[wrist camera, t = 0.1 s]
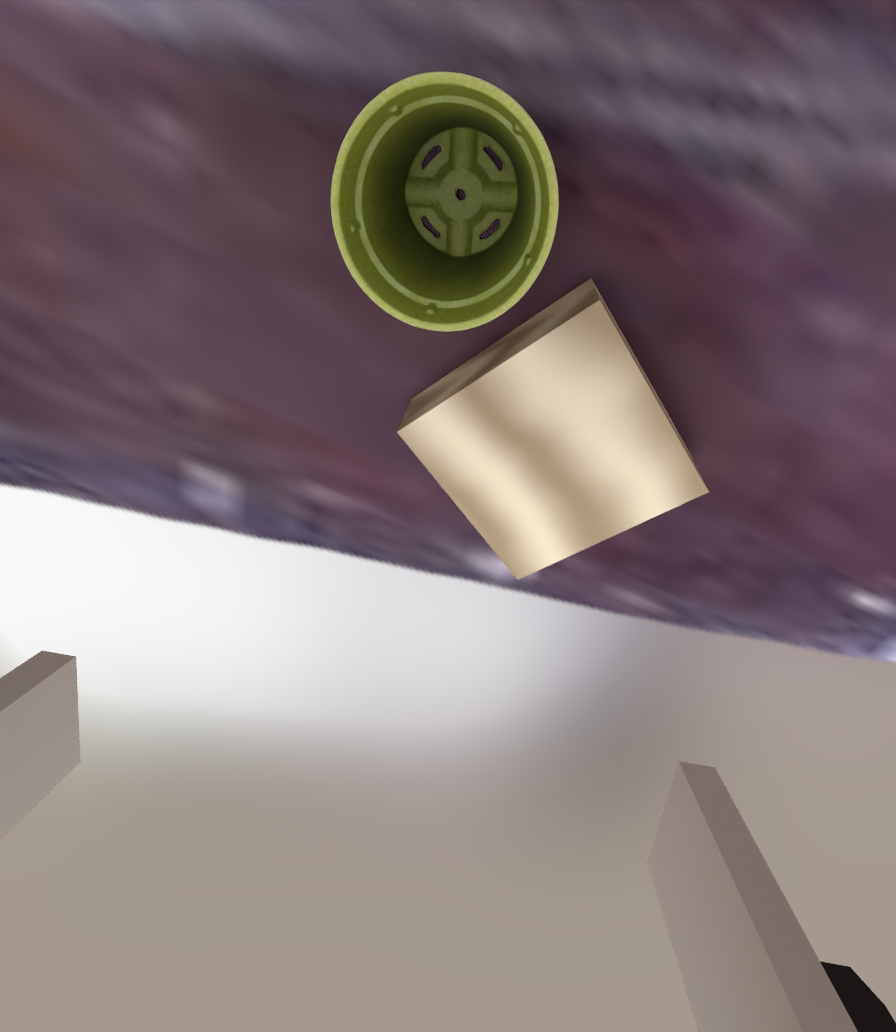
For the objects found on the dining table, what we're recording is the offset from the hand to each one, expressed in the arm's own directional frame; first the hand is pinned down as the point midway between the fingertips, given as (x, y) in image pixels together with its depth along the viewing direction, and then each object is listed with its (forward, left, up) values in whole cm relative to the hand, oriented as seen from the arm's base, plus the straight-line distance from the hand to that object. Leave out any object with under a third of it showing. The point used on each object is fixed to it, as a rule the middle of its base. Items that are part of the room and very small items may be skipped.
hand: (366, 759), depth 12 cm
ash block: (-1, +7, -28) cm, 29 cm away
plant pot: (-4, -7, -28) cm, 29 cm away
